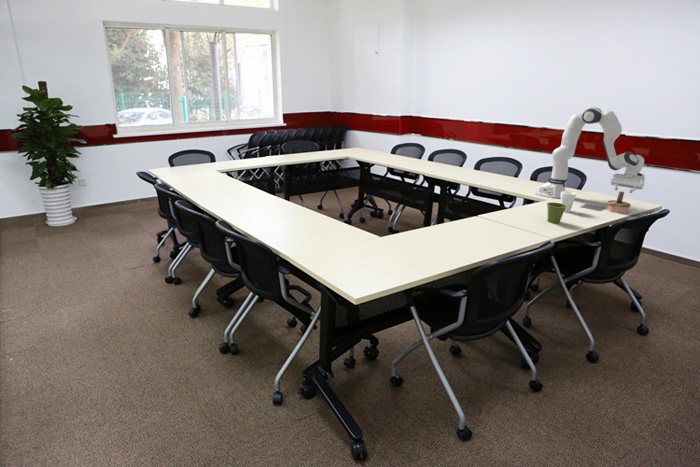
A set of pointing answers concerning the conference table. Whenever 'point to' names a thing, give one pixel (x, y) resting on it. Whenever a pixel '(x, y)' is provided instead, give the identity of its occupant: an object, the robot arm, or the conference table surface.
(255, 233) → the conference table surface
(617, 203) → the lid
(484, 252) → the conference table surface
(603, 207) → the mat
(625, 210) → the bowl
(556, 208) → the plant pot
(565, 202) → the foam cup
